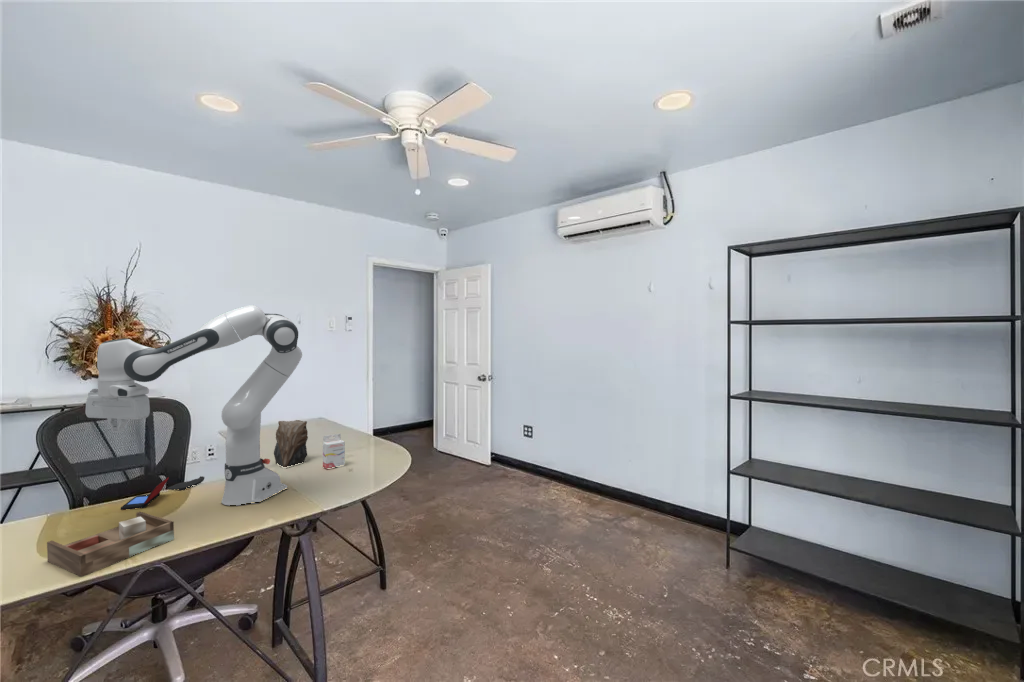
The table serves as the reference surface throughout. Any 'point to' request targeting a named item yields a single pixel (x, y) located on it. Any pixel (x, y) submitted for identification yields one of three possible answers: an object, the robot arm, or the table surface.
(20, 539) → the table surface
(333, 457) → the ink cartridge box
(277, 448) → the owl
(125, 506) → the handheld game console
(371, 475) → the table surface
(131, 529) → the gray block
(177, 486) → the fan shaped piece
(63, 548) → the box
